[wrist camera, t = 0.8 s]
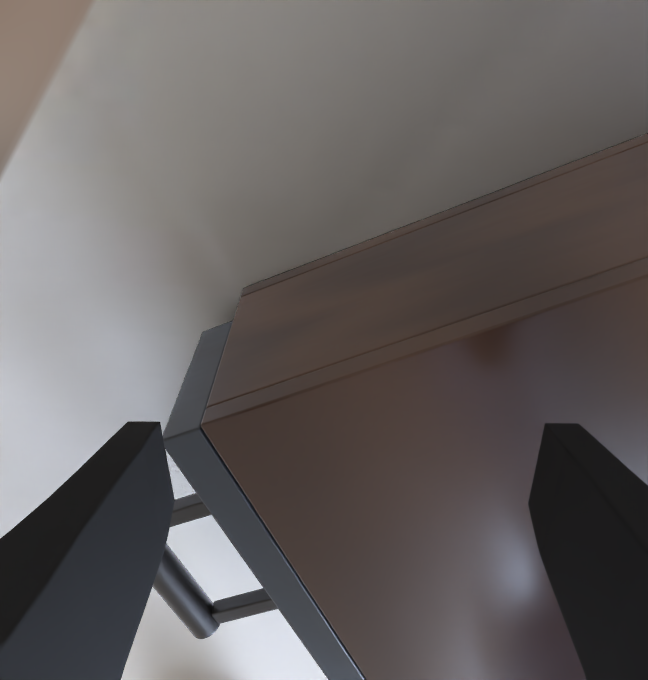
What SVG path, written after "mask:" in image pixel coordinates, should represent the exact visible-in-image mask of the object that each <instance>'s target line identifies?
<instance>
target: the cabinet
mask: <svg viewBox="0 0 648 680" xmlns="http://www.w3.org/2000/svg"><path fill="white" fill-rule="evenodd" d="M206 407H207V409H206V410H205V413H204V416H203V419H202V422H201V427H202V429H203V430H204V432H205V433H206V435H207V436H208V438H209V439H210V441H211V443H212V444H213V446H214V447H215V449H216V450H217V452H218V453H219V455H220V456H221V458H222V459H223V461H224V462H225V464H226V465H227V467H228V468H229V470H230V472H231V473H232V475H233V476H234V478H235V479H236V481H237V482H238V484H239V485H240V487H241V488H242V490H243V491H244V493H245V494H246V496H247V497H248V499H249V501H250V502H251V504H252V505H253V507H254V508H255V510H256V511H257V513H258V514H259V516H260V517H261V519H262V520H263V522H264V523H265V525H266V527H267V528H268V530H269V531H270V533H271V534H272V536H273V537H274V539H275V540H276V542H277V543H278V545H279V546H280V548H281V549H282V551H283V552H284V554H285V556H286V557H287V559H288V560H289V562H290V563H291V565H292V566H293V568H294V569H295V571H296V572H297V574H298V575H299V577H300V578H301V580H302V582H303V583H304V585H305V586H306V588H307V589H308V591H309V592H310V594H311V595H312V597H313V598H314V600H315V601H316V603H317V604H318V606H319V607H320V609H321V611H322V612H323V614H324V615H325V617H326V618H327V620H328V621H329V623H330V624H331V626H332V627H333V629H334V630H335V632H336V633H337V635H338V637H339V638H340V640H341V641H342V643H343V644H344V646H345V647H346V649H347V650H348V652H349V653H350V655H351V656H352V658H353V659H354V661H355V662H356V664H357V666H358V667H359V669H360V670H361V672H362V673H363V675H364V676H365V678H366V679H367V680H586V677H585V674H584V671H583V668H582V665H581V663H580V660H579V658H578V655H577V652H576V650H575V647H574V644H573V642H572V639H571V636H570V634H569V631H568V628H567V626H566V623H565V621H564V618H563V615H562V613H561V610H560V607H559V605H558V602H557V600H556V597H555V594H554V592H553V589H552V586H551V583H550V581H549V578H548V575H547V573H546V570H545V567H544V565H543V562H542V559H541V556H540V553H539V549H538V545H537V541H536V537H535V533H534V529H533V524H532V520H531V515H530V511H529V506H528V501H529V497H530V492H531V487H532V483H533V478H534V473H535V468H536V464H537V459H538V454H539V449H540V445H541V440H542V435H543V430H544V426H545V423H578V424H580V425H581V426H582V427H583V428H584V429H586V430H587V431H588V432H589V433H590V434H591V435H592V436H593V437H595V438H596V439H597V440H598V441H599V442H600V443H601V444H602V445H603V446H604V447H606V448H607V449H608V450H609V451H610V452H611V453H612V454H613V455H614V456H615V457H617V458H618V459H619V460H620V461H621V462H622V463H623V464H624V465H625V466H626V467H628V468H629V469H630V470H631V471H632V472H633V473H634V474H635V475H636V476H638V477H639V478H640V479H641V480H642V481H643V482H644V483H646V484H647V485H648V133H647V134H644V135H642V136H639V137H636V138H634V139H631V140H629V141H626V142H623V143H621V144H618V145H616V146H613V147H610V148H608V149H605V150H602V151H600V152H597V153H595V154H592V155H589V156H587V157H584V158H582V159H579V160H576V161H574V162H571V163H569V164H566V165H563V166H561V167H558V168H556V169H553V170H550V171H548V172H545V173H543V174H540V175H537V176H535V177H532V178H529V179H527V180H524V181H522V182H519V183H516V184H514V185H511V186H509V187H506V188H503V189H501V190H498V191H496V192H493V193H490V194H488V195H485V196H483V197H480V198H477V199H475V200H472V201H470V202H467V203H464V204H462V205H459V206H456V207H454V208H451V209H449V210H446V211H443V212H441V213H438V214H436V215H433V216H430V217H428V218H425V219H423V220H420V221H417V222H415V223H412V224H410V225H407V226H404V227H402V228H399V229H397V230H394V231H391V232H389V233H386V234H383V235H381V236H378V237H376V238H373V239H370V240H368V241H365V242H363V243H360V244H357V245H355V246H352V247H350V248H347V249H344V250H342V251H339V252H337V253H334V254H331V255H329V256H326V257H324V258H321V259H318V260H316V261H313V262H310V263H308V264H305V265H303V266H300V267H297V268H295V269H292V270H290V271H287V272H284V273H282V274H279V275H277V276H274V277H271V278H269V279H266V280H264V281H261V282H258V283H256V284H253V285H250V286H248V287H245V288H243V290H242V293H241V298H240V300H239V303H238V306H237V309H236V313H235V316H234V319H233V322H232V325H231V329H230V332H229V335H228V338H227V342H226V345H225V348H224V351H223V355H222V358H221V361H220V364H219V367H218V371H217V374H216V377H215V380H214V384H213V387H212V390H211V393H210V397H209V400H208V403H207V406H206Z"/></svg>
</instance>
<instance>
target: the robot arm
mask: <svg viewBox="0 0 648 680" xmlns="http://www.w3.org/2000/svg"><path fill="white" fill-rule="evenodd" d="M174 502H175V500H174V495H173V490H172V484H171V479H170V473H169V468H168V463H167V457H166V452H165V446H164V441H163V436H162V430H161V425H160V422H127V423H126V424H125V425H124V426H123V427H122V428H121V429H120V430H119V431H118V432H117V433H116V434H115V435H113V436H112V437H111V438H110V439H109V440H108V441H107V442H106V443H105V444H104V445H103V446H102V447H101V448H100V449H99V450H98V451H97V452H96V453H95V454H94V455H93V456H92V457H91V458H90V459H89V460H88V461H87V462H86V463H85V464H84V465H83V466H82V467H81V468H80V469H79V470H78V471H76V472H75V473H74V474H73V475H72V476H71V477H70V478H69V479H68V480H67V481H66V482H65V483H64V484H63V485H62V486H61V487H59V488H58V489H57V490H56V491H55V492H54V493H53V494H52V495H51V496H50V497H49V498H48V499H47V500H45V501H44V502H43V503H42V504H41V505H40V506H38V507H37V508H36V509H35V510H34V511H33V512H31V513H30V514H29V515H28V516H27V517H26V518H24V519H23V520H22V521H21V522H20V523H19V524H18V525H16V526H15V527H14V528H13V529H12V530H11V531H9V532H8V533H7V534H6V535H5V536H3V537H2V538H1V539H0V680H121V677H122V674H123V670H124V667H125V664H126V661H127V658H128V655H129V652H130V649H131V647H132V644H133V641H134V638H135V635H136V632H137V629H138V626H139V624H140V621H141V618H142V615H143V612H144V609H145V606H146V603H147V601H148V598H149V595H150V592H151V589H152V586H153V583H154V580H155V577H156V574H157V571H158V568H159V565H160V563H161V559H162V556H163V553H164V550H165V546H166V541H167V537H168V532H169V528H170V522H171V517H172V512H173V507H174ZM528 506H529V511H530V515H531V520H532V524H533V529H534V533H535V537H536V541H537V545H538V549H539V553H540V556H541V559H542V562H543V565H544V567H545V570H546V573H547V575H548V578H549V581H550V583H551V586H552V589H553V592H554V594H555V597H556V600H557V602H558V605H559V607H560V610H561V613H562V615H563V618H564V621H565V623H566V626H567V628H568V631H569V634H570V636H571V639H572V642H573V644H574V647H575V650H576V652H577V655H578V658H579V660H580V663H581V665H582V668H583V671H584V674H585V677H586V680H648V485H647V484H646V483H644V482H643V481H642V480H641V479H640V478H639V477H638V476H636V475H635V474H634V473H633V472H632V471H631V470H630V469H629V468H628V467H626V466H625V465H624V464H623V463H622V462H621V461H620V460H619V459H618V458H617V457H615V456H614V455H613V454H612V453H611V452H610V451H609V450H608V449H607V448H606V447H604V446H603V445H602V444H601V443H600V442H599V441H598V440H597V439H596V438H595V437H593V436H592V435H591V434H590V433H589V432H588V431H587V430H586V429H584V428H583V427H582V426H581V425H580V424H578V423H545V426H544V430H543V435H542V440H541V445H540V449H539V454H538V459H537V464H536V468H535V473H534V478H533V483H532V487H531V492H530V497H529V501H528Z"/></svg>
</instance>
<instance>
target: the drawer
mask: <svg viewBox="0 0 648 680" xmlns="http://www.w3.org/2000/svg"><path fill="white" fill-rule="evenodd" d="M232 322H233V321H231V322H228V323H225V324H223V325H220V326H217V327H214V328H212V329H209V330H206V331H204V332H202V334H201V337H200V340H199V342H198V345H197V347H196V350H195V353H194V355H193V358H192V360H191V363H190V366H189V368H188V371H187V373H186V376H185V378H184V381H183V384H182V386H181V389H180V391H179V394H178V397H177V399H176V402H175V404H174V407H173V410H172V412H171V415H170V417H169V420H168V423H167V425H166V428H165V430H164V433H163V441H164V446H165V449H166V451H167V452H168V453H169V455H170V456H171V458H172V459H173V460H174V462H175V463H176V465H177V466H178V468H179V469H180V470H181V472H182V473H183V475H184V476H185V477H186V479H187V480H188V482H189V483H190V485H191V486H192V487H193V489H194V490H195V492H196V493H195V494H192V495H189V496H186V497H182V498H179V499H176V500H175V502H174V507H173V512H172V517H171V522H170V527H172V526H175V525H179V524H182V523H185V522H189V521H192V520H195V519H199V518H202V517H205V516H209V515H212V516H213V517H214V518H215V520H216V521H217V523H218V524H219V526H220V527H221V528H222V530H223V531H224V533H225V534H226V535H227V537H228V538H229V540H230V541H231V543H232V544H233V545H234V547H235V548H236V550H237V551H238V552H239V554H240V555H241V557H242V558H243V559H244V561H245V562H246V564H247V565H248V567H249V568H250V569H251V571H252V572H253V574H254V575H255V576H256V578H257V579H258V581H259V582H260V584H261V585H262V586H263V589H259V590H255V591H251V592H247V593H244V594H240V595H236V596H232V597H229V598H225V599H221V600H217V601H215V602H214V603H213V602H212V601H211V600H210V599H209V597H208V596H207V595H206V593H205V592H204V591H203V590H202V588H201V587H200V586H199V584H198V583H197V582H196V581H195V579H194V578H193V577H192V576H191V574H190V573H189V572H188V570H187V569H186V568H185V567H184V565H183V564H182V563H181V561H180V560H179V559H178V558H177V556H176V555H175V554H174V553H173V551H172V550H171V549H170V547H169V546H168V545H167V544H166V546H165V550H164V553H163V556H162V559H161V563H160V565H159V568H158V571H157V574H156V577H155V580H154V583H153V586H152V587H153V588H154V589H155V590H156V591H157V593H158V594H159V595H160V596H161V597H162V598H163V600H164V601H165V602H166V603H167V604H168V606H169V607H170V608H171V609H172V610H173V612H174V613H175V614H176V615H177V616H178V618H179V619H180V620H181V621H182V622H183V623H184V625H185V626H186V627H187V628H188V629H189V631H190V632H191V633H192V634H193V635H194V636H195V637H196V638H198V639H204V638H207V637H209V636H211V635H212V634H213V633H214V632H215V631H216V630H217V629H218V627H219V625H220V623H224V622H228V621H232V620H236V619H240V618H244V617H248V616H252V615H255V614H259V613H263V612H267V611H271V610H275V609H279V610H280V612H281V613H282V615H283V616H284V617H285V619H286V620H287V622H288V623H289V625H290V626H291V627H292V629H293V630H294V632H295V633H296V634H297V636H298V637H299V639H300V640H301V642H302V643H303V644H304V646H305V647H306V649H307V650H308V651H309V653H310V654H311V656H312V657H313V659H314V660H315V661H316V663H317V664H318V666H319V667H320V668H321V670H322V671H323V673H324V674H325V675H326V677H327V678H328V680H367V679H366V678H365V676H364V675H363V673H362V672H361V670H360V669H359V667H358V666H357V664H356V662H355V661H354V659H353V658H352V656H351V655H350V653H349V652H348V650H347V649H346V647H345V646H344V644H343V643H342V641H341V640H340V638H339V637H338V635H337V633H336V632H335V630H334V629H333V627H332V626H331V624H330V623H329V621H328V620H327V618H326V617H325V615H324V614H323V612H322V611H321V609H320V607H319V606H318V604H317V603H316V601H315V600H314V598H313V597H312V595H311V594H310V592H309V591H308V589H307V588H306V586H305V585H304V583H303V582H302V580H301V578H300V577H299V575H298V574H297V572H296V571H295V569H294V568H293V566H292V565H291V563H290V562H289V560H288V559H287V557H286V556H285V554H284V552H283V551H282V549H281V548H280V546H279V545H278V543H277V542H276V540H275V539H274V537H273V536H272V534H271V533H270V531H269V530H268V528H267V527H266V525H265V523H264V522H263V520H262V519H261V517H260V516H259V514H258V513H257V511H256V510H255V508H254V507H253V505H252V504H251V502H250V501H249V499H248V497H247V496H246V494H245V493H244V491H243V490H242V488H241V487H240V485H239V484H238V482H237V481H236V479H235V478H234V476H233V475H232V473H231V472H230V470H229V468H228V467H227V465H226V464H225V462H224V461H223V459H222V458H221V456H220V455H219V453H218V452H217V450H216V449H215V447H214V446H213V444H212V443H211V441H210V439H209V438H208V436H207V435H206V433H205V432H204V430H203V429H202V427H201V422H202V419H203V416H204V413H205V410H206V409H207V407H206V406H207V403H208V400H209V397H210V393H211V390H212V387H213V384H214V380H215V377H216V374H217V371H218V367H219V364H220V361H221V358H222V355H223V351H224V348H225V345H226V342H227V338H228V335H229V332H230V329H231V325H232Z"/></svg>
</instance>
